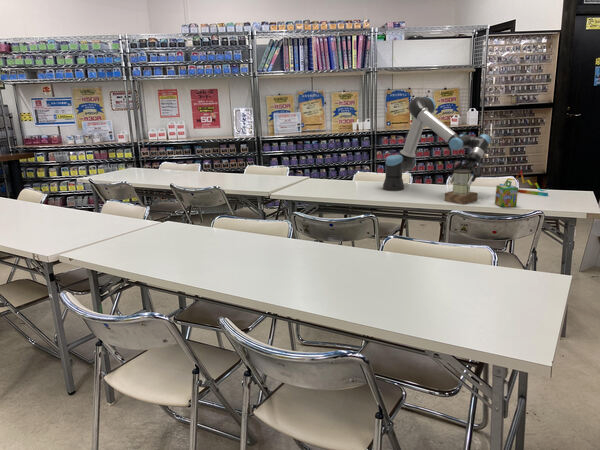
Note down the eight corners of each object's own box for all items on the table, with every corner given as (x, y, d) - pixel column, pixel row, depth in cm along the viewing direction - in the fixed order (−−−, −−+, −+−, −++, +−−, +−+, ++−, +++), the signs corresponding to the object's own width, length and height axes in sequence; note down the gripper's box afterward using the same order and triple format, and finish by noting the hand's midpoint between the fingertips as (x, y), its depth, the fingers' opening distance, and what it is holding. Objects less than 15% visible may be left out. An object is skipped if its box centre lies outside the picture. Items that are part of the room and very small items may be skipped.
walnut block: (444, 200, 294) (445, 193, 293) (457, 197, 302) (458, 189, 301) (464, 204, 284) (464, 196, 282) (477, 200, 292) (477, 192, 290)
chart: (547, 195, 299) (550, 172, 295) (546, 196, 297) (549, 173, 293) (500, 189, 320) (502, 168, 316) (498, 190, 318) (500, 168, 314)
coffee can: (450, 191, 297) (452, 169, 293) (467, 191, 296) (468, 169, 292) (454, 194, 287) (455, 172, 283) (471, 194, 286) (473, 171, 282)
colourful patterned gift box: (494, 204, 283) (496, 179, 279) (508, 203, 284) (511, 179, 279) (501, 207, 274) (504, 182, 270) (516, 206, 275) (519, 182, 271)
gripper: (495, 161, 286) (479, 190, 282) (460, 158, 305) (445, 184, 300) (491, 154, 282) (475, 182, 277) (456, 150, 300) (440, 177, 295)
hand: (459, 183), depth 288 cm, fingers open, 12 cm apart
